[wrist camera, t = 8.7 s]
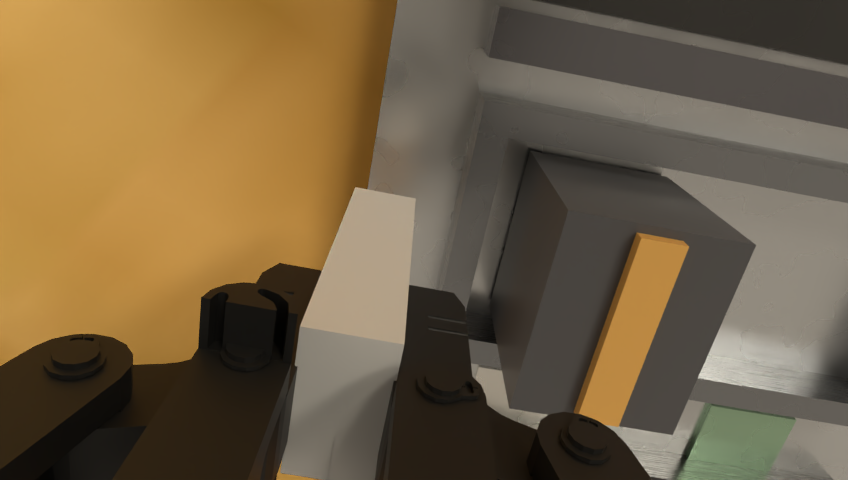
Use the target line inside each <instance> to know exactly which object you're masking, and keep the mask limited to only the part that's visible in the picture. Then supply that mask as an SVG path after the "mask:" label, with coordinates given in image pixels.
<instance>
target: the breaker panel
mask: <svg viewBox="0 0 848 480" xmlns="http://www.w3.org/2000/svg"><path fill="white" fill-rule="evenodd" d="M530 151H535V152H540V153H545V154H551V155H556V156H561V157H566V158H572V159H577V160H582V161H587V162H593V163H598V164H603V165H608V166H614V167H619V168H624V169H629V170H634V171H640V172H645V173H650V174H655V175H661V176H666V177H668V178H669V179H671V180H672V181H673V182H674V183H676V184H677V185H678V186H680V187H681V188H682V189H684V190H685V191H686V192H688V193H689V194H690V195H692V196H693V197H694V198H695V199H697V200H698V201H699V202H701V203H702V204H703V205H705V206H706V207H707V208H709V209H710V210H711V211H712V212H714V213H715V214H716V215H718V216H719V217H720V218H722V219H723V220H724V221H726V222H727V223H728V224H729V225H731V226H732V227H733V228H735V229H736V230H737V231H739V232H740V233H741V234H743V235H744V236H745V237H746V238H748V239H749V240H750V241H752V242H753V243H754V244H756V247H755V249H754V251H753V254H752V256H751V258H750V261H749V263H748V265H747V267H746V270H745V272H744V274H743V276H742V279H741V281H740V283H739V286H738V288H737V290H736V292H735V295H734V297H733V299H732V302H731V304H730V306H729V308H728V311H727V313H726V315H725V317H724V320H723V322H722V324H721V327H720V329H719V331H718V333H717V336H716V338H715V340H714V342H713V345H712V347H711V349H710V352H709V354H708V356H707V358H706V361H705V363H704V365H703V367H702V370H701V372H700V374H699V377H698V379H697V381H696V383H695V386H694V388H693V390H692V393H691V395H690V397H689V399H688V402H687V404H686V406H685V408H684V411H683V413H682V415H681V418H680V420H679V422H678V424H677V427H676V429H675V431H674V433H673V435H669V434H663V433H657V432H651V431H645V430H638V429H632V428H626V427H620V426H619V427H615V426H609V425H605V426H607V427H608V428H610V429H611V430H613V431H614V432H615V433H616V434H617V435H618V436H619V437H620V438H621V439H622V440H623V441H624V442H625V443H626V444H627V446H628V447H629V448H630V450H631V451H632V452H633V454H634V455H635V457H636V458H637V459H638V461H639V462H640V463H641V465H642V466H643V468H644V469H645V470H646V472H647V473H648V474H649V476H650V477H651V479H652V480H848V0H398V1H397V8H396V14H395V20H394V26H393V33H392V39H391V45H390V51H389V58H388V64H387V70H386V76H385V83H384V89H383V95H382V102H381V108H380V114H379V120H378V127H377V133H376V139H375V145H374V152H373V158H372V164H371V170H370V177H369V183H368V190H373V191H378V192H384V193H389V194H394V195H399V196H405V197H410V198H415V199H416V202H415V215H414V228H413V241H412V253H411V266H410V279H409V285H414V286H419V287H425V288H430V289H436V290H441V291H447V292H452V293H454V294H455V295H456V296H457V298H458V299H459V300H460V301H461V303H462V304H463V305H464V306H465V312H466V321H467V322H466V324H467V330H468V335H467V336H468V340H469V349H470V358H471V367H472V377H474V378H475V379H476V380H477V381H478V382H479V383H480V384H481V386H482V388H483V390H484V393H485V395H486V400H487V405H488V406H489V407H491V408H492V409H494V410H495V411H497V412H498V413H500V414H501V415H503V416H505V417H507V418H510V419H512V420H514V421H516V422H519V423H521V424H524V425H526V426H529V427H531V428H534V429H536V430H537V428H538V426H539V423H540V420H542V419H543V418H545V417H546V416H547V414H540V413H534V412H528V411H522V410H516V409H510V408H509V405H508V400H507V395H506V389H505V384H504V379H503V374H502V368H501V363H500V358H499V352H498V347H497V342H496V337H495V331H494V326H493V321H492V315H491V310H490V302H491V298H492V294H493V290H494V286H495V283H496V279H497V275H498V271H499V267H500V264H501V260H502V256H503V252H504V248H505V245H506V241H507V237H508V233H509V229H510V226H511V222H512V218H513V214H514V210H515V207H516V203H517V199H518V195H519V191H520V188H521V184H522V180H523V176H524V172H525V169H526V165H527V161H528V157H529V153H530Z"/></svg>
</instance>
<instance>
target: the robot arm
mask: <svg viewBox="0 0 848 480" xmlns="http://www.w3.org/2000/svg"><path fill="white" fill-rule="evenodd" d="M415 202H416V199H415V198H410V197H405V196H399V195H394V194H389V193H384V192H378V191H373V190H368V189H363V188H357V187H355V189H354V192H353V194H352V197H351V199H350V202H349V204H348V207H347V209H346V212H345V215H344V217H343V220H342V222H341V225H340V227H339V230H338V232H337V235H336V237H335V240H334V242H333V245H332V247H331V250H330V252H329V255H328V257H327V260H326V262H325V265H324V267H323V270H322V271H320V270H315V269H309V268H304V267H298V266H293V265H287V264H282V263H279V264H277V265H276V266H274V267H272V268H270V269H268V270H266V271H265V272H263V273H262V274H261V276H260V278H259V279H258V281H257V283H256V284H255V283H236V284H226V285H223V286H220V287H217V288H215V289H212V290H210V291H209V292H208V293H206V294H205V295H204V296H203V297H201V312H200V329H199V346H198V349H197V351H196V352H195V354H194V356H193V357H192V359H191V360H187V361H183V362H178V363H168V364H148V365H133V354H132V353H131V351H130V350H129V348H128V347H127V345H126V344H124V343H122V342H120V341H118V340H116V339H114V338H112V337H107V336H101V335H96V334H76V335H69V336H64V337H59V338H55V339H51V340H49V341H46V342H44V343H42V344H39V345H37V346H35V347H32V348H31V349H29V350H27V351H26V352H24V353H22V354H20V355H19V356H17V357H15V358H14V359H12V360H10V361H8V362H7V363H5V364H3V365H2V366H0V480H276V477H277V473H278V470H279V466H280V463H281V460H282V464H281V472H280V473H284V474H290V475H296V476H303V477H309V478H315V479H322V480H652V479H651V477H650V476H649V474H648V473H647V472H646V470H645V469H644V468H643V466H642V465H641V463H640V462H639V461H638V459H637V458H636V457H635V455H634V454H633V452H632V451H631V450H630V448H629V447H628V446H627V444H626V443H625V442H624V441H623V440H622V439H621V438H620V437H619V436H618V435H617V434H616V433H615V432H614V431H613V430H611V429H610V428H608V427H607V426H605V425H604V424H602V423H601V422H599V421H597V420H595V419H592V418H589V417H587V416H584V415H582V414H576V413H569V412H559V413H552V414H549V415H547V416H546V417H545V418H543V419H542V420H540V423H539V426H538V428H537V430H536V429H534V428H531V427H529V426H526V425H524V424H521V423H519V422H516V421H514V420H512V419H510V418H507V417H505V416H503V415H501V414H500V413H498V412H497V411H495V410H494V409H492V408H491V407H489V406H488V405H487V400H486V395H485V393H484V390H483V388H482V386H481V384H480V383H479V382H478V381H477V380H476V379H475V378H474V377H472V367H471V358H470V349H469V340H468V336H467V335H468V330H467V324H466V322H467V321H466V312H465V306H464V305H463V304H462V303H461V301H460V300H459V299H458V298H457V296H456V295H455V294H454V293H452V292H447V291H441V290H436V289H430V288H425V287H419V286H414V285H409V279H410V266H411V253H412V241H413V228H414V215H415Z"/></svg>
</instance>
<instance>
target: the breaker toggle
mask: <svg viewBox="0 0 848 480" xmlns="http://www.w3.org/2000/svg"><path fill="white" fill-rule="evenodd" d="M755 247H756V244H754V243H753V242H752V241H750V240H749V239H748V238H746V237H745V236H744V235H743V234H741V233H740V232H739V231H737V230H736V229H735V228H733V227H732V226H731V225H729V224H728V223H727V222H726V221H724V220H723V219H722V218H720V217H719V216H718V215H716V214H715V213H714V212H712V211H711V210H710V209H709V208H707V207H706V206H705V205H703V204H702V203H701V202H699V201H698V200H697V199H695V198H694V197H693V196H692V195H690V194H689V193H688V192H686V191H685V190H684V189H682V188H681V187H680V186H678V185H677V184H676V183H674V182H673V181H672V180H671V179H669V178H668V177H666V176H661V175H655V174H650V173H645V172H640V171H634V170H629V169H624V168H619V167H614V166H608V165H603V164H598V163H593V162H587V161H582V160H577V159H572V158H566V157H561V156H556V155H551V154H545V153H540V152H535V151H530V153H529V157H528V161H527V165H526V169H525V172H524V176H523V180H522V184H521V188H520V191H519V195H518V199H517V203H516V207H515V210H514V214H513V218H512V222H511V226H510V229H509V233H508V237H507V241H506V245H505V248H504V252H503V256H502V260H501V264H500V267H499V271H498V275H497V279H496V283H495V286H494V290H493V294H492V298H491V302H490V310H491V315H492V321H493V326H494V331H495V337H496V342H497V347H498V352H499V358H500V363H501V368H502V374H503V379H504V384H505V389H506V395H507V400H508V405H509V408H510V409H516V410H522V411H528V412H534V413H540V414H547V415H549V414H552V413H559V412H569V413H576V414H582V415H584V416H587V417H589V418H592V419H595V420H597V421H599V422H601V423H602V424H604V425H609V426H615V427H619V426H620V427H626V428H632V429H638V430H645V431H651V432H657V433H663V434H669V435H673V433H674V431H675V429H676V427H677V424H678V422H679V420H680V418H681V415H682V413H683V411H684V408H685V406H686V404H687V402H688V399H689V397H690V395H691V393H692V390H693V388H694V386H695V383H696V381H697V379H698V377H699V374H700V372H701V370H702V367H703V365H704V363H705V361H706V358H707V356H708V354H709V352H710V349H711V347H712V345H713V342H714V340H715V338H716V336H717V333H718V331H719V329H720V327H721V324H722V322H723V320H724V317H725V315H726V313H727V311H728V308H729V306H730V304H731V302H732V299H733V297H734V295H735V292H736V290H737V288H738V286H739V283H740V281H741V279H742V276H743V274H744V272H745V270H746V267H747V265H748V263H749V261H750V258H751V256H752V254H753V251H754V249H755Z"/></svg>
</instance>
